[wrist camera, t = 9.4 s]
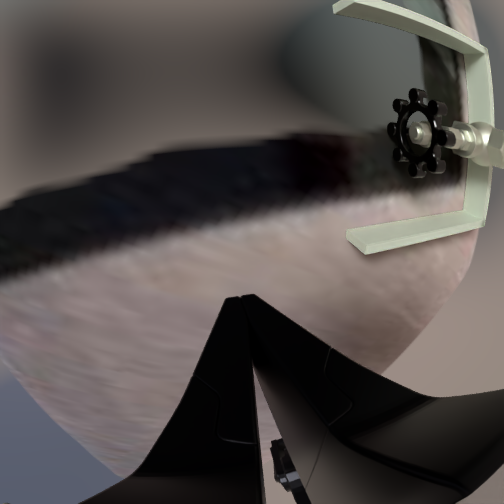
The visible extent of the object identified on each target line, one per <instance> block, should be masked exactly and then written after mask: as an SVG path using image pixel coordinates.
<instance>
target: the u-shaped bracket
mask: <svg viewBox="0 0 504 504" xmlns="http://www.w3.org/2000/svg"><path fill="white" fill-rule="evenodd" d="M333 12H334V14H336V15H343V16H348V17H353V18H358V19H362V20H367V21H371V22H375V23H379V24H383V25H386V26H390V27H394V28H397V29H400V30H403V31H407V32H410V33H413V34H415V35H418V36H421V37H424V38H427V39H429V40H432V41H434V42H437V43H439V44H442V45H444V46H447V47H449V48H451V49H453V50H456V51H458V52H460V53H462V54H463V56H464V63H465V71H466V80H467V92H468V110H469V124H471V123H473V122H478V121H481V122H485V123H488V124H490V125H492V126H493V127H494V101H493V89H492V77H491V69H490V62H489V56H488V50H487V48H485V47H484V46H482V45H480V44H479V43H477V42H475V41H474V40H472V39H470V38H468V37H466V36H465V35H463V34H461V33H459V32H457V31H455V30H453V29H451V28H449V27H447V26H445V25H443V24H441V23H439V22H437V21H434V20H432V19H430V18H428V17H425V16H423V15H420V14H418V13H415V12H413V11H410V10H408V9H405V8H402V7H399V6H396V5H393V4H390V3H387V2H384V1H381V0H340V1H339V2H337V3H336V4H334V5H333ZM492 168H493V166H488V167H487V166H481V165H478V164H476V163H475V162H473V161H472V160H471V159H470V158H468V167H467V179H466V189H465V197H464V205H463V210H461V211H455V212H449V213H443V214H437V215H431V216H425V217H419V218H413V219H406V220H400V221H395V222H389V223H383V224H377V225H371V226H365V227H359V228H353V229H347V231H346V239H347V240H348V241H349V242H351V243H352V244H353V245H354V246H355V247H357V248H358V249H359V250H360V251H361V252H362V253H364V254H365V255H367V254H372V253H376V252H381V251H385V250H390V249H394V248H398V247H403V246H407V245H411V244H416V243H420V242H424V241H428V240H432V239H437V238H441V237H445V236H449V235H453V234H457V233H461V232H465V231H469V230H473V229H477V228H481V227H484V226H485V221H486V215H487V209H488V202H489V196H490V188H491V180H492V179H491V178H492Z"/></svg>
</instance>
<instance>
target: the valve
mask: <svg viewBox="0 0 504 504" xmlns="http://www.w3.org/2000/svg"><path fill="white" fill-rule="evenodd" d="M423 97H424V98H427V94H426V92H425V91H423V90H420V89H416V88H412V89H410V91H409V99H410V103H409V102H408V101H407V100H403V99H395V100H394V101H393V109H394V111H395V112H397V113H398V121H397V123H393V122H390V123H389V124H388V126H387V132H388V134H389V135H390V136H395V137H397V140H398V148H395V149H394V151H393V158H394V160H395V161H396V162H408V161H410V165H409V167H408V172H409V174H410V176H411V177H412V178H423V177H425V175H426V171H422V166H423V164H427V168H428V170H429V171H430V172H431V173H443V172H444V171H445V169H446V163H445V160H440V158H441V147H446V148H452V151H453V154H457V155H459V156H461V157H466V158H470V159H471V160H472V161H473V162H475V163H476V164H478V165H481V166H487V167H488V166H496V167H498V168H501V169H504V131H503V130H499V129H495V128H494V127H493V126H492V125H490V124H488V123H485V122H481V121H478V122H473V123H471V124H469V123H464V122H458V121H454V122H453V125H452V128H450V127H444V126H441V122H442V116H441V115H444V116H446V115H447V106H446V104H445V103H444V102H441V101H437V100H430V101H429V102H428V106H427V105H424V104H423ZM408 103H409V104H408ZM416 111H420V112H422V113H423V114H424V115H425V116H426V117H427V119H428V121H421V122H419V123H417V122H412V124H411V126H410V128H406V126H407V122H408V119H409V117H410V116H411V115H412V114H413V113H414V112H416ZM406 134H407V135H410V138H411V141H412V143H415V144H420V145H421V146H422V147H428V148H429V149H428V150H427V152H426V153H425V154H423V155H422V156H418V155H416V154H415V153H414V152H413V151H412V149H411V148H410V146H409V144H408V141H407V136H406Z"/></svg>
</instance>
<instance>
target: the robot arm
mask: <svg viewBox="0 0 504 504" xmlns="http://www.w3.org/2000/svg"><path fill="white" fill-rule="evenodd" d="M253 368H254V370H255V373H256V376H257V378H258V381H259V383H260V386H261V388H262V391H263V393H264V396H265V398H266V401H267V403H268V405H269V408H270V410H271V413H272V415H273V418H274V420H275V422H276V425H277V427H278V429H279V432H280V434H281V436H282V438H281V439H278V440H273V441H271V444H272V447H271V448H270V450H271V454H272V457H273V462H274V478H275V480H276V482H279V483H281V484H282V485H283V487H284V488H285V490H286V491H287V492H289V491H291V492H292V494H293V496H294V499H295V501H296V503H297V504H504V389H501V390H496V391H490V392H484V393H478V394H470V395H462V396H452V397H431V396H427V395H423V394H420V393H418V392H415V391H413V390H411V389H408V388H406V387H404V386H402V385H400V384H398V383H396V382H393V381H391V380H389V379H387V378H385V377H383V376H381V375H379V374H377V373H375V372H373V371H371V370H369V369H367V368H365V367H364V366H362V365H360V364H358V363H356V362H355V361H353V360H351V359H350V358H348V357H346V356H345V355H343V354H342V353H340V352H339V351H337V350H336V349H334V348H332V349H331V346H329V345H328V344H326V343H325V342H323V341H322V340H320V339H319V338H317V337H316V336H315V335H313V334H312V333H310V332H309V331H307V330H306V329H304V328H303V327H301V326H300V325H298V324H297V323H295V322H294V321H293V320H291V319H290V318H288V317H287V316H285V315H284V314H282V313H281V312H279V311H278V310H277V309H275V308H274V307H272V306H271V305H269V304H268V303H267V302H265V301H264V300H262V299H261V298H260V297H258V296H257V295H255V294H248V295H242V296H241V297H238V296H236V297H229V298H226V299H225V301H224V303H223V305H222V307H221V310H220V312H219V314H218V317H217V319H216V321H215V324H214V326H213V328H212V331H211V333H210V335H209V338H208V340H207V342H206V345H205V347H204V349H203V352H202V354H201V356H200V359H199V361H198V363H197V365H196V368H195V370H194V372H193V376H192V377H191V379H190V382H189V384H188V386H187V388H186V390H185V393H184V395H183V397H182V399H181V401H180V403H179V405H178V406H177V408H176V410H175V412H174V413H173V415H172V417H171V419H170V420H169V422H168V423H167V425H166V427H165V428H164V430H163V431H162V433H161V435H160V436H159V438H158V439H157V441H156V442H155V444H154V446H153V447H152V449H151V450H150V452H149V454H148V455H147V457H146V458H145V460H144V461H143V462H142V464H141V465H140V466H139V467H138V468H137V469H136V470H135V471H134V472H133V473H132V474H131V475H130V476H128V477H127V478H125V479H124V480H122V481H120V482H119V483H117V484H115V485H113V486H111V487H110V488H108V489H106V490H104V491H102V492H100V493H98V494H96V495H94V496H93V497H90V498H88V499H86V500H84V501H82V502H80V503H78V504H266V498H265V488H264V478H263V469H262V458H261V448H260V438H259V428H258V417H257V407H256V396H255V385H254V374H253ZM3 504H9V503H3Z"/></svg>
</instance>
